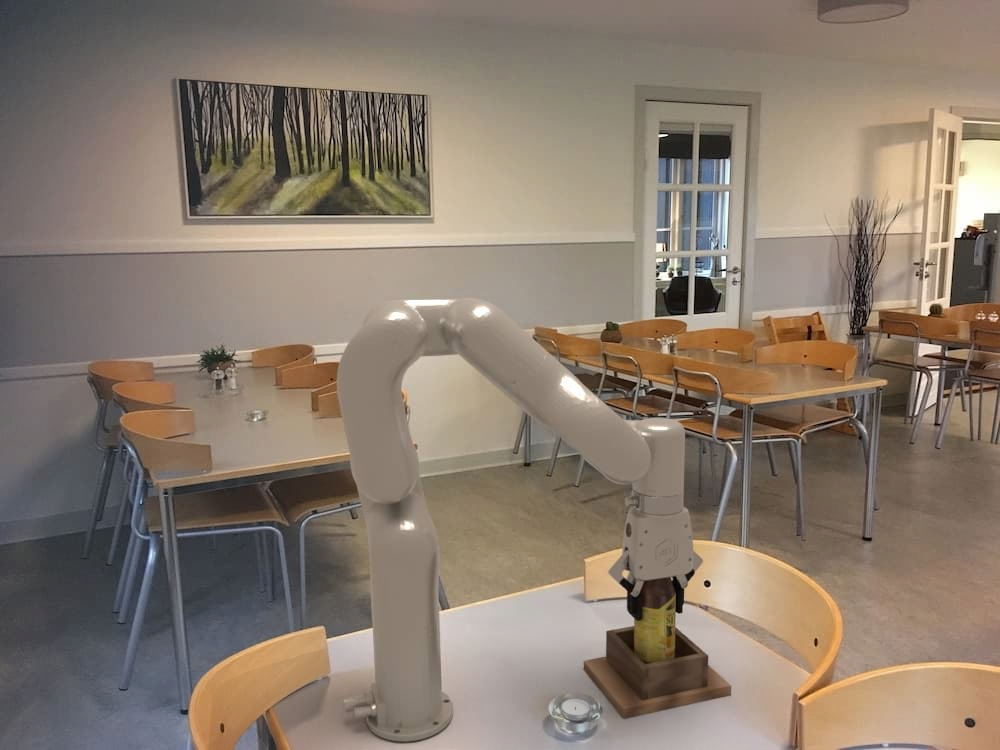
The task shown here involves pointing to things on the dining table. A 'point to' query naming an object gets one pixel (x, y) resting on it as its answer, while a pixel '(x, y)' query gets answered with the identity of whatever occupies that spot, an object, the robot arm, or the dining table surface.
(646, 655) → the sauce bottle
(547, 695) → the dining table surface
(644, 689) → the condiment caddy
